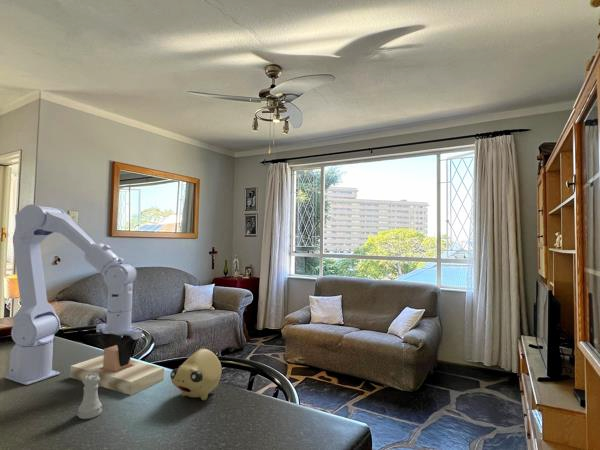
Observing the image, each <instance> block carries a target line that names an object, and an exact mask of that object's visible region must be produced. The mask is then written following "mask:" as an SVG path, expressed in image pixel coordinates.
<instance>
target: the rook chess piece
mask: <svg viewBox="0 0 600 450" xmlns="http://www.w3.org/2000/svg"><path fill="white" fill-rule="evenodd" d="M99 380H100V377H99V376H98V373H97V374H96V373H93V375H91V373H90V374H88V376H87V375H85V376H84V379H83V381H82V383H83V385H84V387H83V388H82V389H83V398H82V401H81V403H80V405H79V406H78V409H77V411H78V412H77V414H76V415H77V417H78V418H79V419H81V420H88V419H89V420H90V419H93V418H96V417H98V416H99V415H100V414H101V413H102V412H103V408H102V407H103V405H102V404H103V403H102V402H101V400H100V399H99V393H98V389H99V387H100V386H98V381H99Z"/></svg>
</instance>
